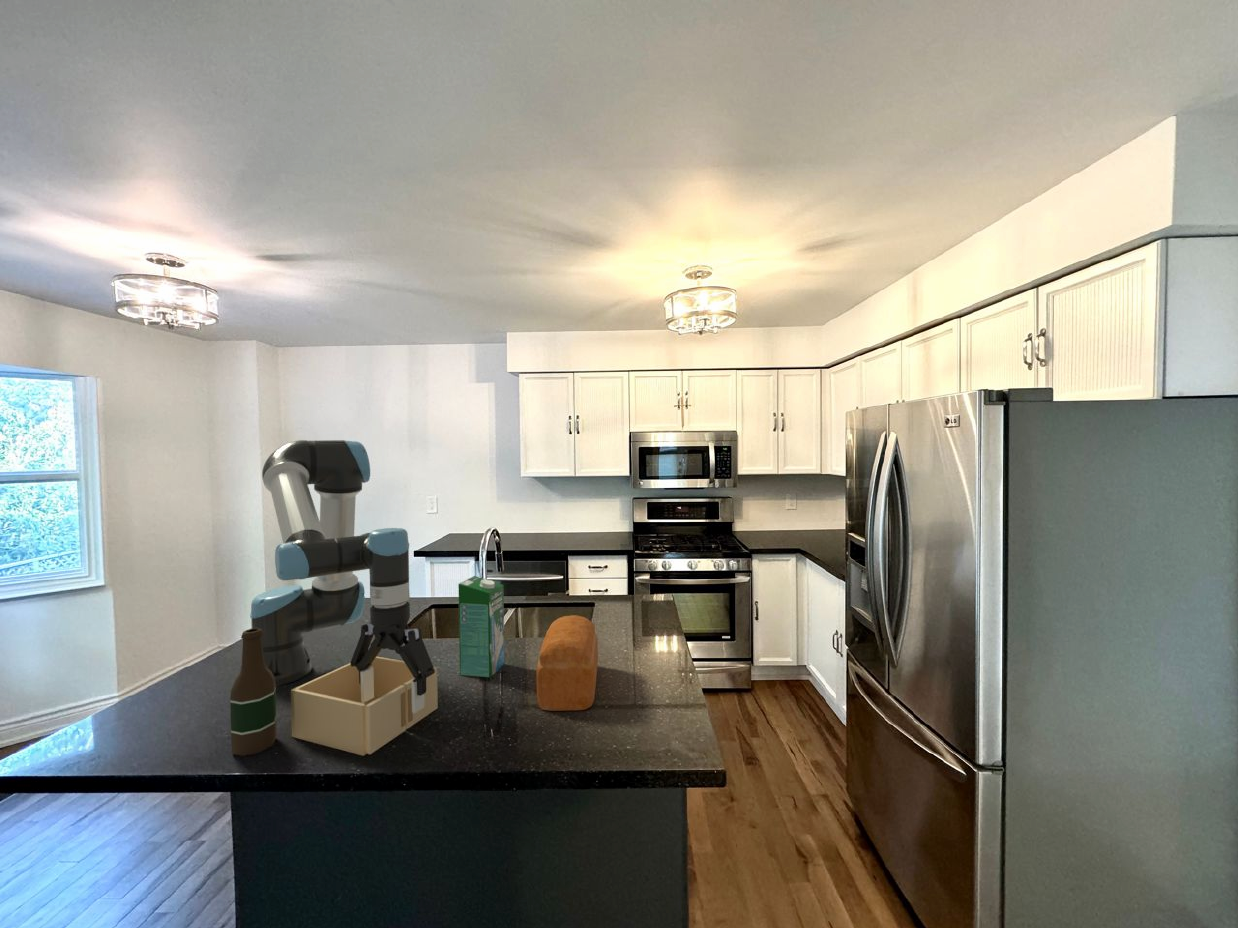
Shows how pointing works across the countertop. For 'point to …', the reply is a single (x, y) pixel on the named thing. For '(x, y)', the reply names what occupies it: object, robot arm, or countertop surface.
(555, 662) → the bread
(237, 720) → the beer bottle
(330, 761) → the countertop surface
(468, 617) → the milk carton
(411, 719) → the flap
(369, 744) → the flap
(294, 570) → the robot arm
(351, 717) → the carton
